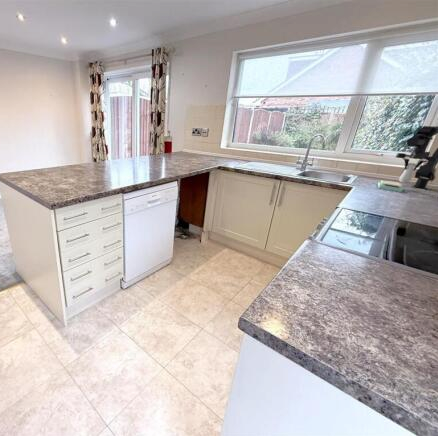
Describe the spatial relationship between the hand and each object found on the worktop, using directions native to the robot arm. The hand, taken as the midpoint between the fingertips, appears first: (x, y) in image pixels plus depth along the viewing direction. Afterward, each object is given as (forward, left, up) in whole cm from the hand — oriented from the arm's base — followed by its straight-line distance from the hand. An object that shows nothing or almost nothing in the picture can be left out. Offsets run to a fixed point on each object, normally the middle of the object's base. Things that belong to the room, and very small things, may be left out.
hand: (409, 169), depth 168 cm
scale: (+5, -6, -13) cm, 16 cm away
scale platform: (+4, -6, -11) cm, 13 cm away
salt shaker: (0, 0, -9) cm, 9 cm away
